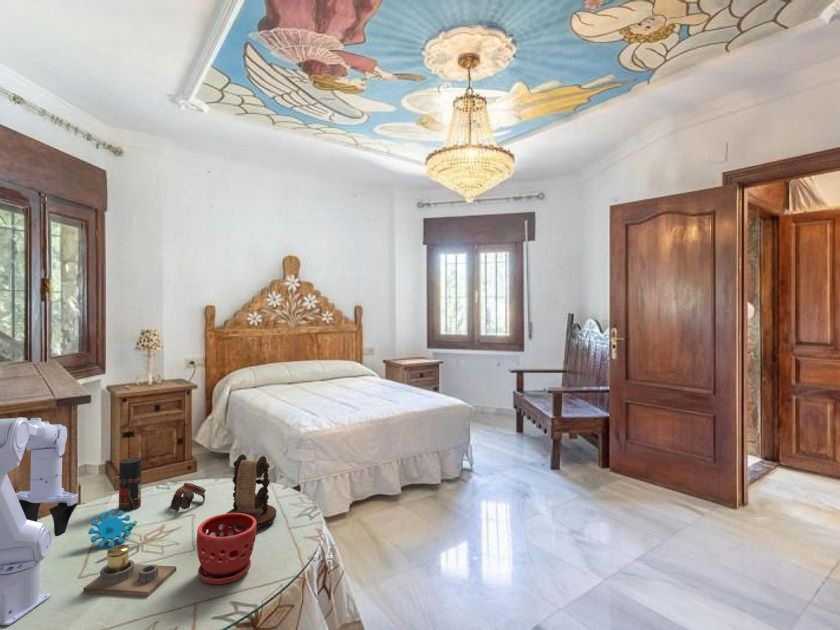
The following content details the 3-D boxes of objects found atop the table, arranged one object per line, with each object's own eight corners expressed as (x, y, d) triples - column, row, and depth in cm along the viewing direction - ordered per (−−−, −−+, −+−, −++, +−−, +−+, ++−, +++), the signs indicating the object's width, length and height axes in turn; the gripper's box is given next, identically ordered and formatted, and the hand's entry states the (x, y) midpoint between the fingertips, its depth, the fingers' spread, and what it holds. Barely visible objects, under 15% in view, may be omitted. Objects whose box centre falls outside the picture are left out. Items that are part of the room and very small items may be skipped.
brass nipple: (121, 580, 102) (121, 553, 102) (102, 580, 102) (102, 553, 102) (132, 569, 106) (132, 544, 106) (114, 570, 106) (115, 544, 106)
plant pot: (190, 594, 99) (191, 540, 99) (201, 562, 112) (202, 514, 112) (253, 585, 103) (254, 533, 103) (257, 555, 115) (258, 509, 115)
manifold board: (148, 596, 98) (148, 582, 98) (83, 592, 99) (83, 578, 99) (176, 570, 108) (176, 558, 108) (116, 567, 109) (117, 554, 109)
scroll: (212, 531, 127) (213, 461, 128) (241, 509, 142) (243, 446, 142) (259, 537, 125) (261, 465, 125) (285, 514, 139) (286, 450, 139)
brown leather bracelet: (167, 505, 145) (181, 479, 149) (196, 514, 148) (209, 489, 152) (166, 510, 135) (181, 482, 139) (197, 520, 138) (211, 492, 141)
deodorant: (120, 505, 144) (121, 458, 144) (142, 502, 146) (143, 456, 146) (116, 512, 138) (117, 464, 138) (139, 509, 141) (140, 461, 141)
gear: (88, 548, 114) (90, 511, 120) (83, 559, 117) (85, 521, 123) (138, 541, 121) (137, 505, 127) (132, 550, 124) (132, 515, 130)
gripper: (88, 471, 109) (87, 527, 109) (34, 468, 110) (33, 523, 110) (63, 482, 102) (62, 541, 102) (5, 478, 103) (4, 537, 103)
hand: (45, 533), depth 106 cm, fingers open, 7 cm apart
